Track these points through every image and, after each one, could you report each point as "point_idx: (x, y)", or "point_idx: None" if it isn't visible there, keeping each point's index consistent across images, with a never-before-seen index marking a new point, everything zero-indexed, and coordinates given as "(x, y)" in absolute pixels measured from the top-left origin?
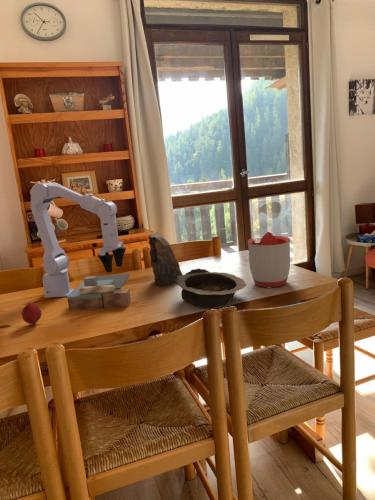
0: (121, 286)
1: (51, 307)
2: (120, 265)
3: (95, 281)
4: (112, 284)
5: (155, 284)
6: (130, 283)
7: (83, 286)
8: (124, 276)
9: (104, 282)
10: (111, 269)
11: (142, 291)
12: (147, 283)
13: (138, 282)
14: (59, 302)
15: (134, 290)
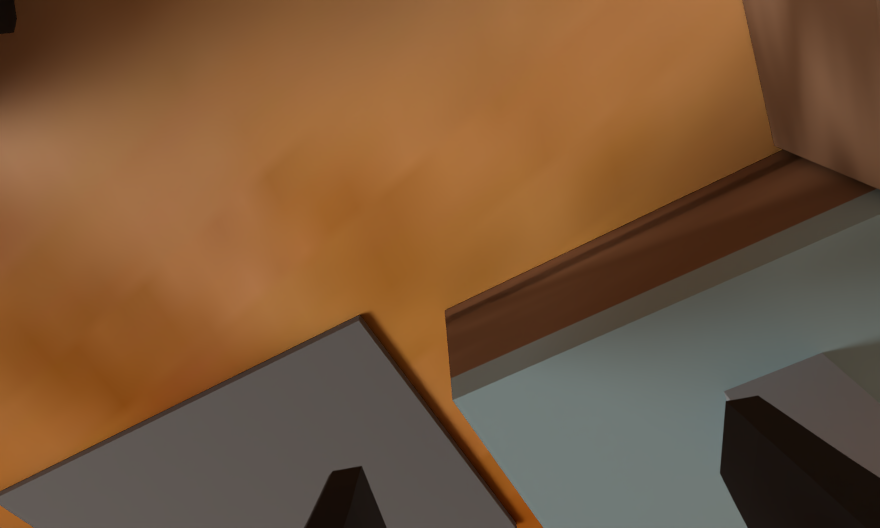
0: (310, 342)
1: None
2: (363, 495)
3: (856, 426)
4: (507, 345)
5: (9, 8)
6: (179, 333)
7: None
8: (84, 491)
9: (583, 414)
10: (793, 429)
11: (313, 6)
12: (54, 155)
13: (102, 279)
14: None
15: (329, 139)
